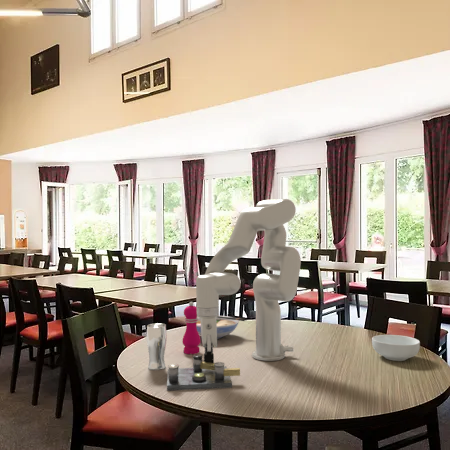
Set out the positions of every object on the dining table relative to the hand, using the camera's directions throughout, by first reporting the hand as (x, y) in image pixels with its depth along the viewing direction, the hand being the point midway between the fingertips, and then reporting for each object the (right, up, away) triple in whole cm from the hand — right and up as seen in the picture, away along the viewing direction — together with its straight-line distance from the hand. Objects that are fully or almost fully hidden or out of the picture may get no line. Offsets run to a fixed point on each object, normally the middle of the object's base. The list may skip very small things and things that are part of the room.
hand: (209, 365), depth 153 cm
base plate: (-3, -3, -6) cm, 8 cm away
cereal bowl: (+70, -3, +17) cm, 72 cm away
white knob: (-11, -1, -9) cm, 14 cm away
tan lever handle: (-1, -1, -2) cm, 3 cm away
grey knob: (+6, -1, -9) cm, 11 cm away
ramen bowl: (+1, -3, +50) cm, 51 cm away
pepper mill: (-8, -3, +26) cm, 28 cm away
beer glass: (-19, -3, +7) cm, 20 cm away
